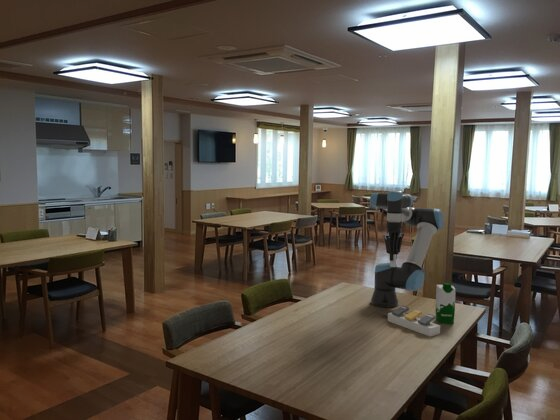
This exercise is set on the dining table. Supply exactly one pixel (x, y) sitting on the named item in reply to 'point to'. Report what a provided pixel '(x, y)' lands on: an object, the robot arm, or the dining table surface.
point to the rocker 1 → (400, 310)
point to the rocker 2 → (413, 315)
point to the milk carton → (445, 303)
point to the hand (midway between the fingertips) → (392, 266)
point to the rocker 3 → (426, 319)
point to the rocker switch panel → (414, 324)
